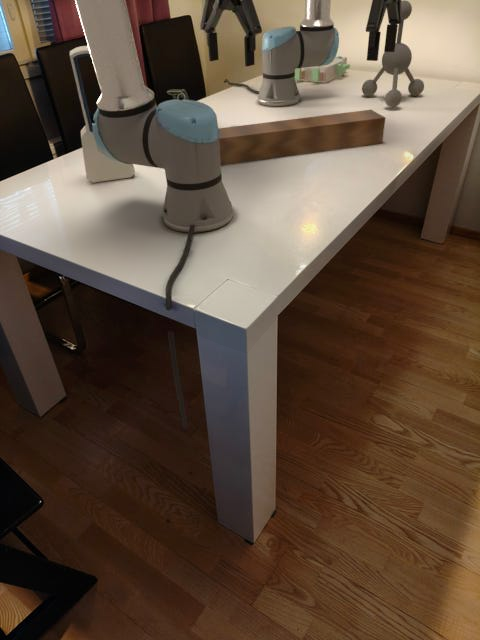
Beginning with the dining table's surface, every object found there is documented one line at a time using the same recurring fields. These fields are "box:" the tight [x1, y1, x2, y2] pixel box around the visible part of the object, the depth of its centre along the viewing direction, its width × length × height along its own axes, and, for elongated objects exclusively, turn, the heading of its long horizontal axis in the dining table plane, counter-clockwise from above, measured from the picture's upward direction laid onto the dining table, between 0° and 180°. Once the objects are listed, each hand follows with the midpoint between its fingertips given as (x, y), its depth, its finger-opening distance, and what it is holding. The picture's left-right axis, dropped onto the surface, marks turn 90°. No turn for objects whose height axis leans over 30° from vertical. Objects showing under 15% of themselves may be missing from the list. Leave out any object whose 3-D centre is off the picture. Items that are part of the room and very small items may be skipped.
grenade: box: [166, 89, 190, 100], centre depth 162 cm, size 7×6×10 cm
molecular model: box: [361, 0, 425, 108], centre depth 166 cm, size 24×22×30 cm
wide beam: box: [218, 109, 386, 166], centre depth 136 cm, size 59×9×7 cm, turn 104°
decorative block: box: [295, 55, 351, 84], centre depth 207 cm, size 26×6×20 cm
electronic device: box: [69, 45, 136, 184], centre depth 120 cm, size 12×8×30 cm, turn 105°
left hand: (231, 63), depth 129 cm, fingers open, 13 cm apart
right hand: (381, 56), depth 132 cm, fingers open, 13 cm apart
